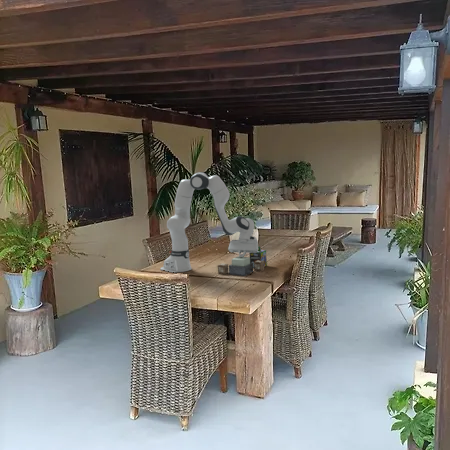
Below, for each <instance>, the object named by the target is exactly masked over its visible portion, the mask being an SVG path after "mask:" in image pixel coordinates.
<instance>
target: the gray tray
mask: <svg viewBox="0 0 450 450" xmlns="http://www.w3.org/2000/svg"><path fill="white" fill-rule="evenodd" d="M251 272H252V273H253V272H254V268H253V263H250V264H248V265H246V266H233V265H232V263H230V264H228V275H231V276H242V277H246V276H248V275H250V274H252V273H251Z"/></svg>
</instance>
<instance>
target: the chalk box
mask: <svg viewBox="0 0 450 450" xmlns="http://www.w3.org/2000/svg"><path fill="white" fill-rule="evenodd" d="M249 257H250V263H253V269H254V262H256V261H264V268H265V267H267V266H268V263H267V261H268V259H267V258H268V257H267V249H262V248H261V246H259V245H258V252H257V253H249Z"/></svg>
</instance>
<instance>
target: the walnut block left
mask: <svg viewBox="0 0 450 450" xmlns="http://www.w3.org/2000/svg"><path fill="white" fill-rule="evenodd" d="M217 274H218V275H226V274H227V275H228V274H229V264H228V263H220V264H217Z"/></svg>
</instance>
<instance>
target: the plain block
mask: <svg viewBox="0 0 450 450" xmlns="http://www.w3.org/2000/svg"><path fill="white" fill-rule="evenodd" d="M231 264H232V265H233V266H246V265H248V264H250V256H248V257H247V256H244V258H239V255H238V256H236V257H234V258H231Z"/></svg>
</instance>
